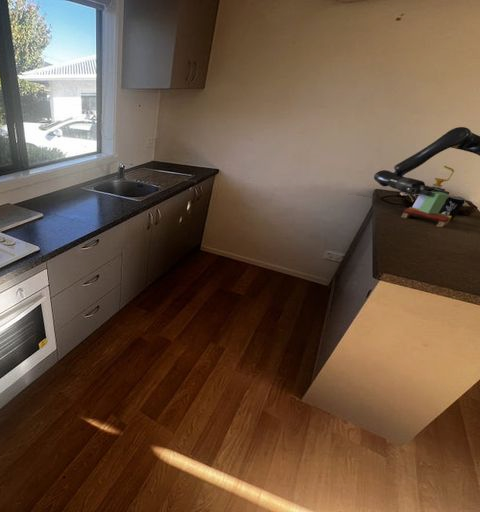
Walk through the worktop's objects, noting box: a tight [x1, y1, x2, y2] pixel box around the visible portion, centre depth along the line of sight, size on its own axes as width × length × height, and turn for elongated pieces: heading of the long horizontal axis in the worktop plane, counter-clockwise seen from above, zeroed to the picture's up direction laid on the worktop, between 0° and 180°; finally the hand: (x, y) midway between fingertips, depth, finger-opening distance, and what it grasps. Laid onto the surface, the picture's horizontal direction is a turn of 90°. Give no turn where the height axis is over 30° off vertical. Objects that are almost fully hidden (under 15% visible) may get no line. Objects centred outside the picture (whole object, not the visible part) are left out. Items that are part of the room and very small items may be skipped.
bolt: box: [458, 204, 476, 216], centre depth 164 cm, size 6×5×15 cm
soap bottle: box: [411, 165, 455, 209], centre depth 160 cm, size 9×9×25 cm
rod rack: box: [400, 206, 452, 228], centre depth 151 cm, size 16×7×5 cm, turn 28°
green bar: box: [419, 192, 450, 214], centre depth 148 cm, size 5×5×10 cm
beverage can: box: [439, 195, 466, 222], centre depth 151 cm, size 7×7×12 cm
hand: (439, 194), depth 145 cm, fingers open, 8 cm apart
